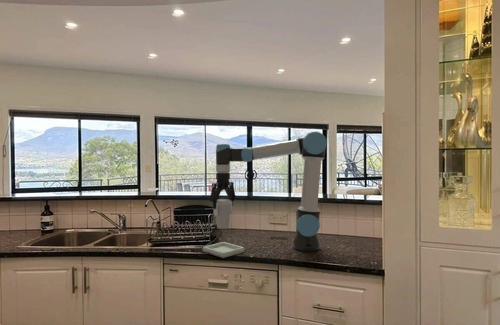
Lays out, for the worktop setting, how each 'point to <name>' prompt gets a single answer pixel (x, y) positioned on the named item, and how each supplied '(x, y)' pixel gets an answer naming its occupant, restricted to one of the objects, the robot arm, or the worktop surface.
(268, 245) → the worktop surface
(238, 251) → the tray
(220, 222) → the coffee cup
